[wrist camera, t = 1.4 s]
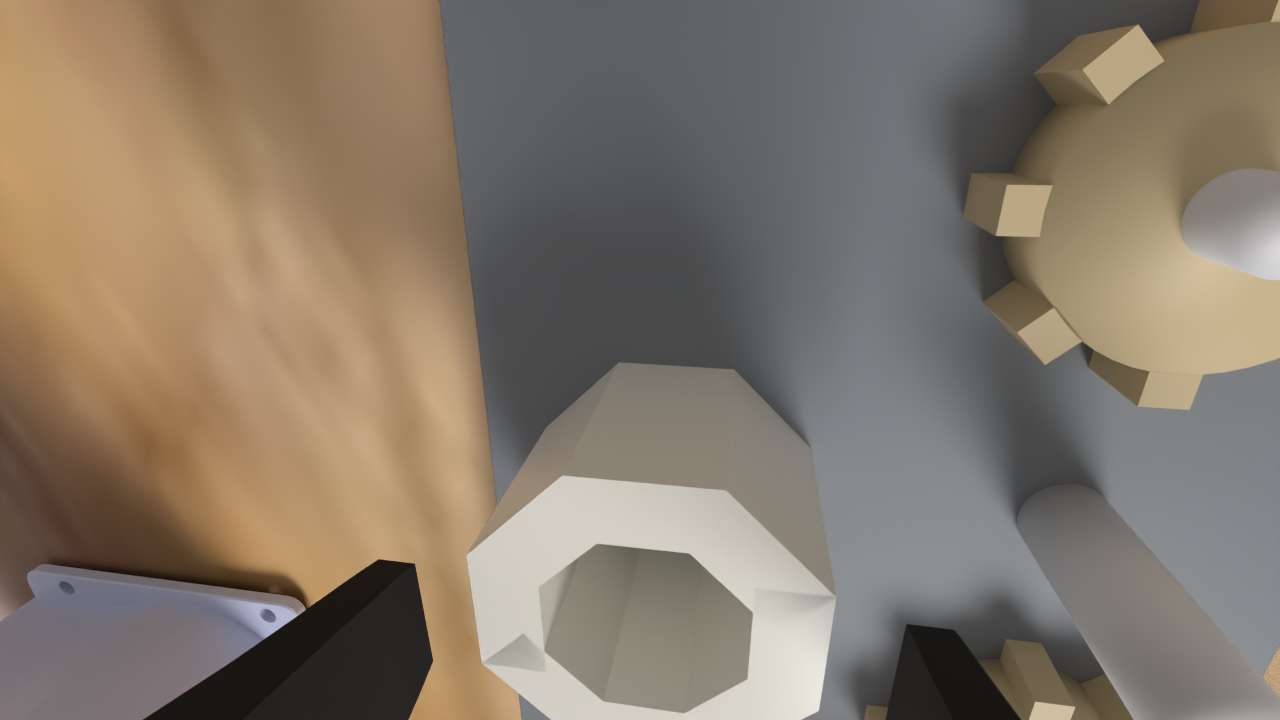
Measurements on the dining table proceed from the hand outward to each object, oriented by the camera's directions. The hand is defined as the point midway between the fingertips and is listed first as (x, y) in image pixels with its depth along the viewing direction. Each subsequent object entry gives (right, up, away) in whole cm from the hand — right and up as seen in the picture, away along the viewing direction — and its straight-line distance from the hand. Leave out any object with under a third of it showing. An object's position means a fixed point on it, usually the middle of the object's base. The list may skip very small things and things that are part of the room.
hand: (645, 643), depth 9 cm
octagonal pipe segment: (+1, +2, +4) cm, 4 cm away
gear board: (+5, +2, +5) cm, 7 cm away
